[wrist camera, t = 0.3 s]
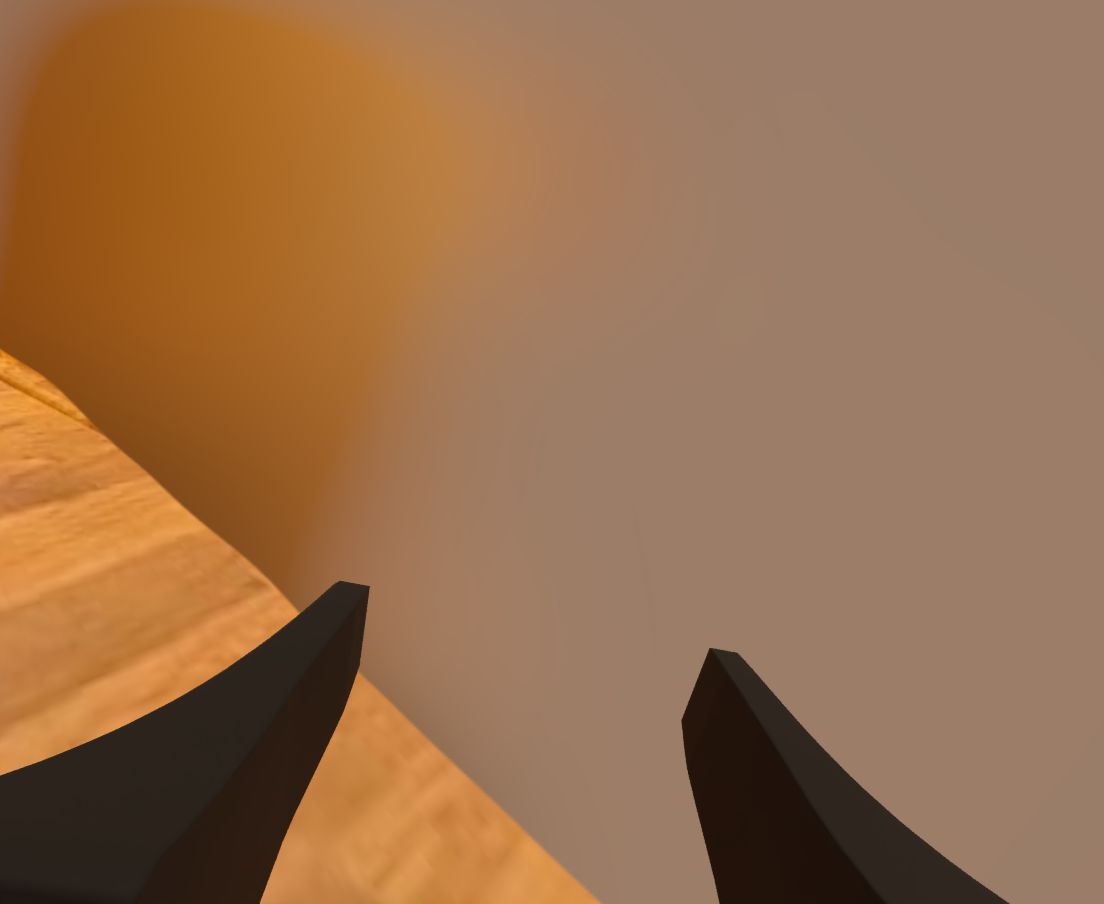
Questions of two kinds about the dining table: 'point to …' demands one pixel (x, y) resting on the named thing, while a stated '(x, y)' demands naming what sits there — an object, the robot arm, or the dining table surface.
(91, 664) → the dining table surface
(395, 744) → the dining table surface
